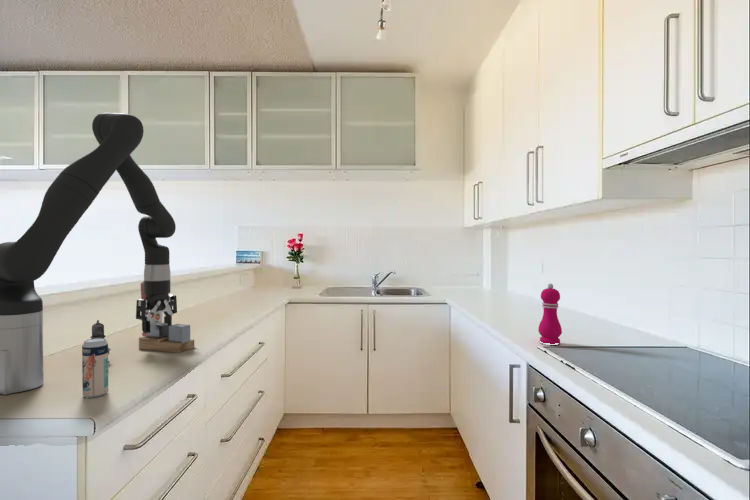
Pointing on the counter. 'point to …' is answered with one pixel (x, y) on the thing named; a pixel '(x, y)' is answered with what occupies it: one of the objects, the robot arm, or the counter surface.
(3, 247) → the robot arm
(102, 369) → the beer can
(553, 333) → the pepper mill
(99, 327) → the dark metal lantern
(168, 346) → the wooden tray
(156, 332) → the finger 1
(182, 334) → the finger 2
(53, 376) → the counter surface
